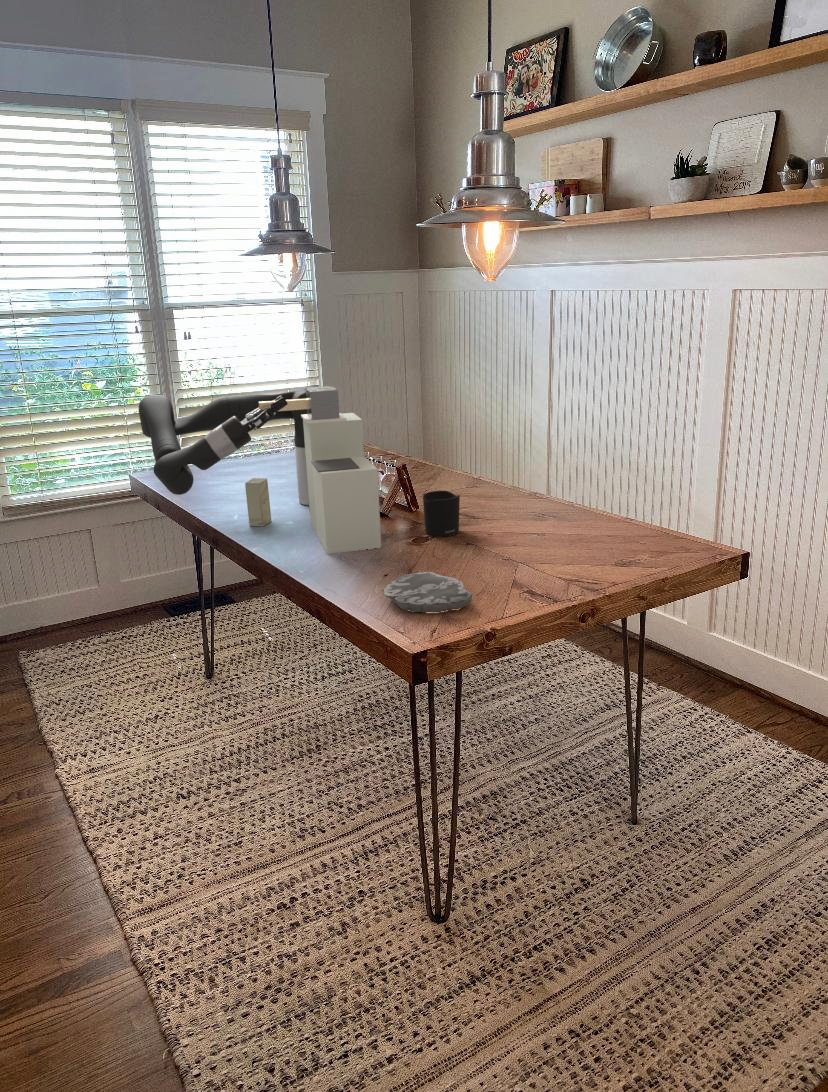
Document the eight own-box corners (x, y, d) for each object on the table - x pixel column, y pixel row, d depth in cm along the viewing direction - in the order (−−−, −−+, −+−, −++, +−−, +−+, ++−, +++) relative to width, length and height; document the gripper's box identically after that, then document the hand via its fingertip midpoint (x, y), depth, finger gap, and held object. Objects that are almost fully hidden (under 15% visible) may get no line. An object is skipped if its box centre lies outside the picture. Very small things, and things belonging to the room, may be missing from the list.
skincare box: (263, 526, 232) (259, 483, 228) (248, 526, 233) (244, 483, 229) (272, 520, 238) (268, 477, 234) (257, 520, 238) (253, 477, 235)
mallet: (333, 412, 224) (331, 385, 222) (339, 417, 216) (337, 390, 214) (258, 418, 220) (256, 390, 218) (262, 423, 211) (259, 395, 209)
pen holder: (421, 537, 218) (420, 499, 214) (426, 527, 226) (425, 490, 223) (458, 538, 216) (457, 499, 213) (461, 527, 225) (461, 490, 222)
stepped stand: (359, 518, 236) (353, 410, 227) (381, 548, 210) (375, 427, 201) (308, 523, 233) (300, 414, 224) (325, 554, 207) (316, 431, 198)
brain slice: (366, 597, 180) (366, 584, 179) (434, 580, 188) (434, 568, 187) (416, 627, 164) (415, 613, 163) (487, 607, 172) (487, 593, 171)
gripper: (220, 430, 207) (279, 390, 208) (218, 421, 220) (273, 383, 221) (238, 455, 210) (296, 415, 211) (235, 445, 223) (290, 407, 223)
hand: (284, 399), depth 216 cm, fingers closed on mallet, 2 cm apart
